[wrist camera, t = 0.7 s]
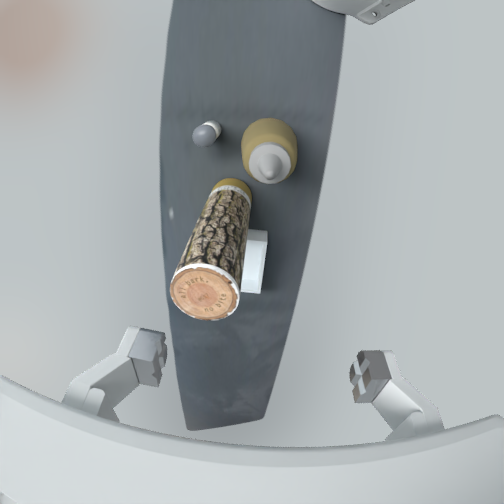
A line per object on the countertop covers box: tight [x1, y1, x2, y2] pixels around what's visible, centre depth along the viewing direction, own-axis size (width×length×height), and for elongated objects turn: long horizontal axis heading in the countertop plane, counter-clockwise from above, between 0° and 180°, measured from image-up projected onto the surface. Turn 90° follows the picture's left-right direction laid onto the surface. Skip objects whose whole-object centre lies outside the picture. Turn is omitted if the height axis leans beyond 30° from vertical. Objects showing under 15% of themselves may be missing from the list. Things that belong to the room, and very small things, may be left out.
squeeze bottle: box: [241, 118, 297, 184], centre depth 36 cm, size 8×8×18 cm
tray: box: [240, 229, 267, 294], centre depth 53 cm, size 11×11×4 cm
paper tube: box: [170, 178, 252, 320], centre depth 38 cm, size 7×7×25 cm
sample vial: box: [193, 120, 221, 147], centre depth 40 cm, size 3×3×6 cm
